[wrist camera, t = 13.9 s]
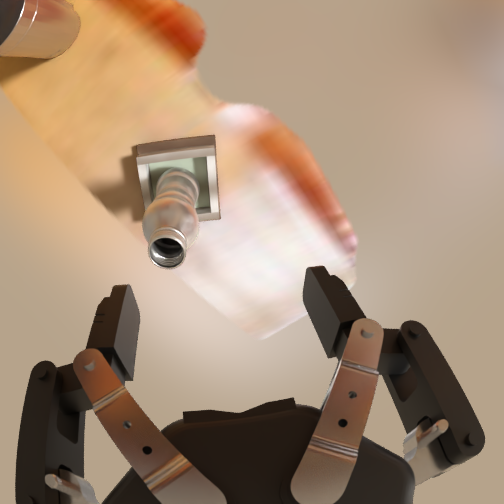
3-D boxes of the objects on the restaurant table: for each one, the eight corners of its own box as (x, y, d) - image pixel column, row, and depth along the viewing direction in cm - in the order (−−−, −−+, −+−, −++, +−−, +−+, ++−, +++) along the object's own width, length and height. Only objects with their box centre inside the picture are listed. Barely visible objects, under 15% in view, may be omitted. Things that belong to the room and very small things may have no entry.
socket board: (138, 144, 38) (133, 149, 35) (214, 134, 40) (216, 138, 37) (151, 224, 46) (148, 234, 43) (220, 216, 48) (221, 226, 45)
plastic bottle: (173, 210, 44) (161, 291, 27) (150, 177, 40) (119, 243, 24) (207, 190, 43) (214, 263, 27) (185, 155, 40) (175, 207, 23)
